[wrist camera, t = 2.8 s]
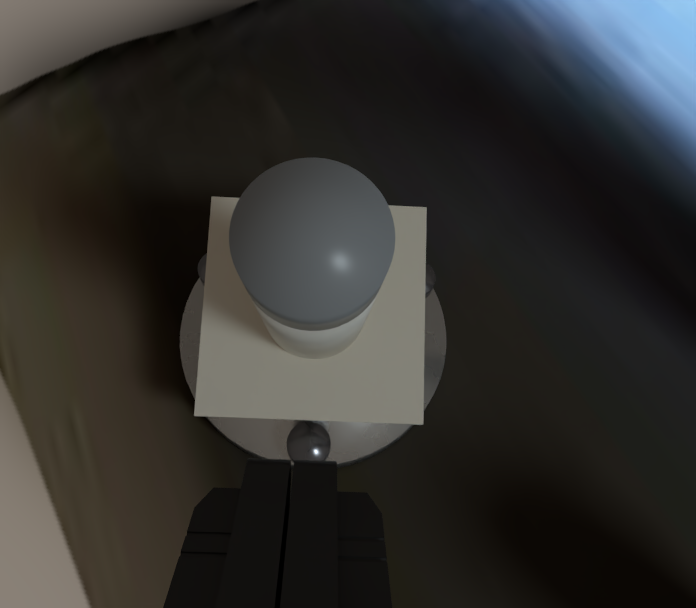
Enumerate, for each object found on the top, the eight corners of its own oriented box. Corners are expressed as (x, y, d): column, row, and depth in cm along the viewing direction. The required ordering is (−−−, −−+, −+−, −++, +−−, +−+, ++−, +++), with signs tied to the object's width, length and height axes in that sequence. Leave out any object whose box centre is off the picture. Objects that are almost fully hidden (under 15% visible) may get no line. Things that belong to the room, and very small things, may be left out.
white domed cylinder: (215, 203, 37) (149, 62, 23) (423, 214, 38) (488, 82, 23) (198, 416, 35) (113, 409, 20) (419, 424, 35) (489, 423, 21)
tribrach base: (312, 188, 45) (313, 152, 42) (493, 339, 41) (510, 313, 38) (129, 340, 40) (110, 314, 36) (315, 531, 36) (316, 523, 32)
